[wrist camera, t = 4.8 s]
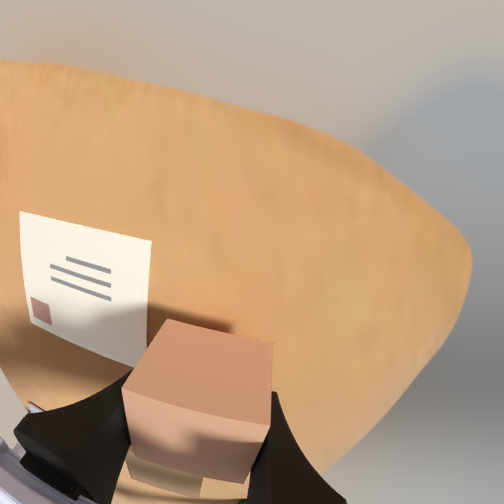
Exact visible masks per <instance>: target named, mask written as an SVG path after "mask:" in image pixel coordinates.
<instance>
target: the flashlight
mask: <svg viewBox="0 0 504 504" xmlns="http://www.w3.org/2000/svg"><path fill="white" fill-rule="evenodd" d="M246 502H247V499H244V500H241V501H239V503H238V504H246Z"/></svg>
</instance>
